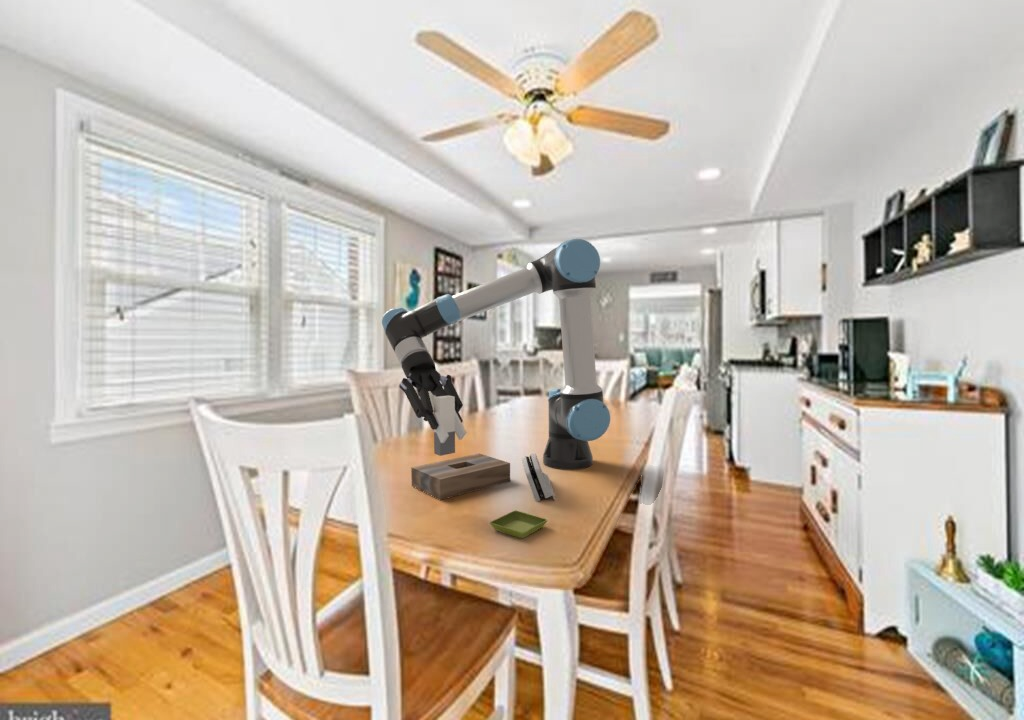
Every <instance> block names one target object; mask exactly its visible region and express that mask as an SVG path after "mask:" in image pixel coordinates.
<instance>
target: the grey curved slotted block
mask: <svg viewBox="0 0 1024 720" xmlns="http://www.w3.org/2000/svg"><path fill="white" fill-rule="evenodd" d="M521 461H522V467H523V469H524V473H525V476H526V479H527V481H528V484H529V487H530V490H531V493H532V496H533V498H534V501H535V502H540V501H541V499H542V498H543V499H544V498H545V499H548V498H550V497H552V499H553V501H554V500H556V501H557V498H556V495H555V491H554V489H553V486H552V483H551V480H550V477H549V475H548V473H545V472H544V471H542V470H543V469H542V468H541V466H540V465H541V464H540V462H539V459H538V456H537V454H536V453H531V454H530V455H529V456H526V455H525V456H524V457H522V458H521Z"/></svg>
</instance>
